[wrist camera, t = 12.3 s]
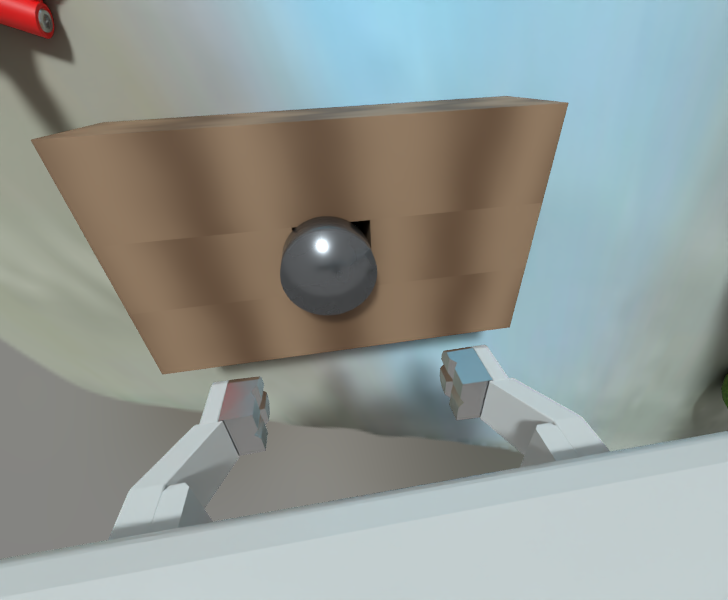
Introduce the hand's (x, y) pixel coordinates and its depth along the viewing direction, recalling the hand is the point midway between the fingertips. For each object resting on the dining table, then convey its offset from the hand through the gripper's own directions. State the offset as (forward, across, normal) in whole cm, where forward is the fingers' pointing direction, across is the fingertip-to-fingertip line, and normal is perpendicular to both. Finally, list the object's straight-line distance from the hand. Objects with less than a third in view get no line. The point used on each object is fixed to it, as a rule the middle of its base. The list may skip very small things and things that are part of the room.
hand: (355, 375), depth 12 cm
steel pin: (+15, 0, 0) cm, 15 cm away
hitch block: (+15, 0, 0) cm, 15 cm away
